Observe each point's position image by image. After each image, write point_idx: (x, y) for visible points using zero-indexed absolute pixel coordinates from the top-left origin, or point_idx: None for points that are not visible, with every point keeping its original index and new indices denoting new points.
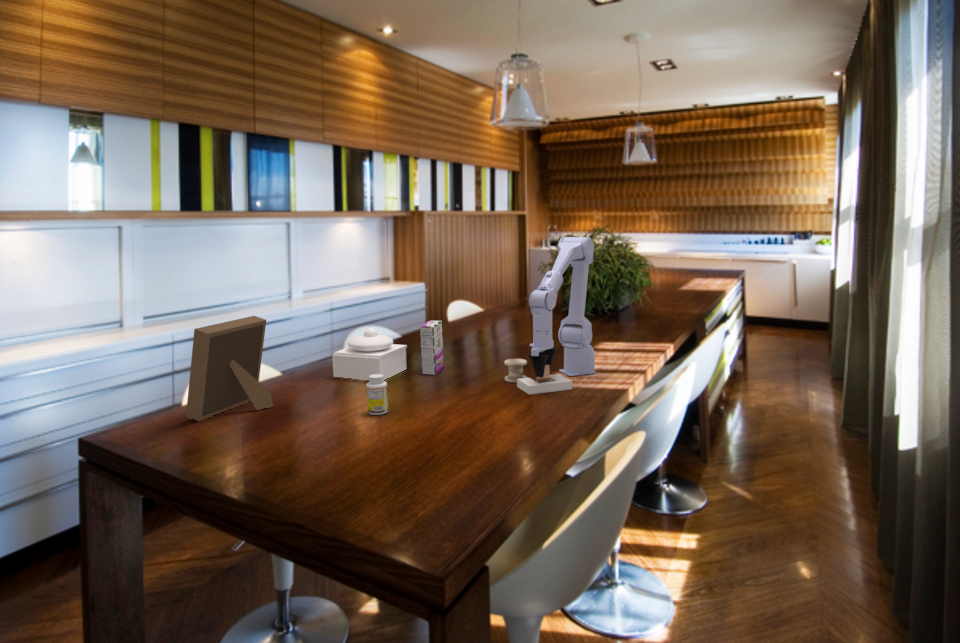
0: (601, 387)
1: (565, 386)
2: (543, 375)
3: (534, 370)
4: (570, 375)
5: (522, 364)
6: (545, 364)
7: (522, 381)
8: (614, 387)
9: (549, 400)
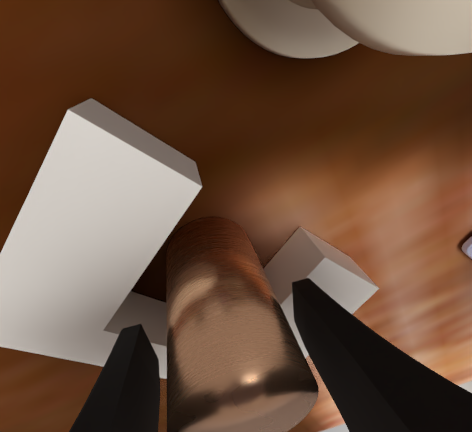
0: (321, 393)
1: None
2: (155, 375)
3: (93, 387)
4: (464, 250)
5: (365, 36)
6: (266, 420)
7: (31, 218)
8: (335, 410)
9: (12, 399)
